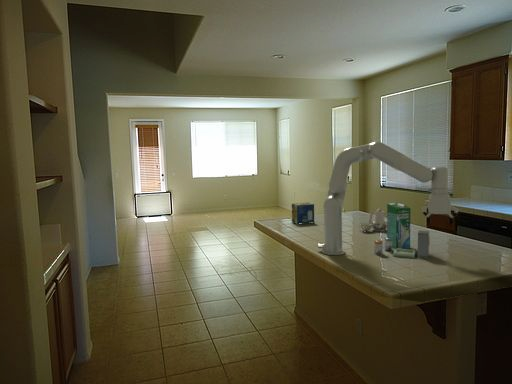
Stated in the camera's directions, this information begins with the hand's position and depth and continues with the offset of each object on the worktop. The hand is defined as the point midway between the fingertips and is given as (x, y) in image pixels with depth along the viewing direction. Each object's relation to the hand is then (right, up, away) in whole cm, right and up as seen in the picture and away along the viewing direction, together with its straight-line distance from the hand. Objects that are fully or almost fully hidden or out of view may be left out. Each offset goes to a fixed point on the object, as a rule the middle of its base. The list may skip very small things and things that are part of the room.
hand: (439, 225), depth 193 cm
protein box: (-55, -8, +112) cm, 125 cm away
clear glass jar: (-20, -16, +18) cm, 31 cm away
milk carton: (-11, -15, +26) cm, 32 cm away
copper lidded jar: (-27, -17, +12) cm, 34 cm away
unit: (-6, -17, +5) cm, 18 cm away
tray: (-15, -17, +8) cm, 23 cm away
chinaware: (-8, -11, +71) cm, 72 cm away
